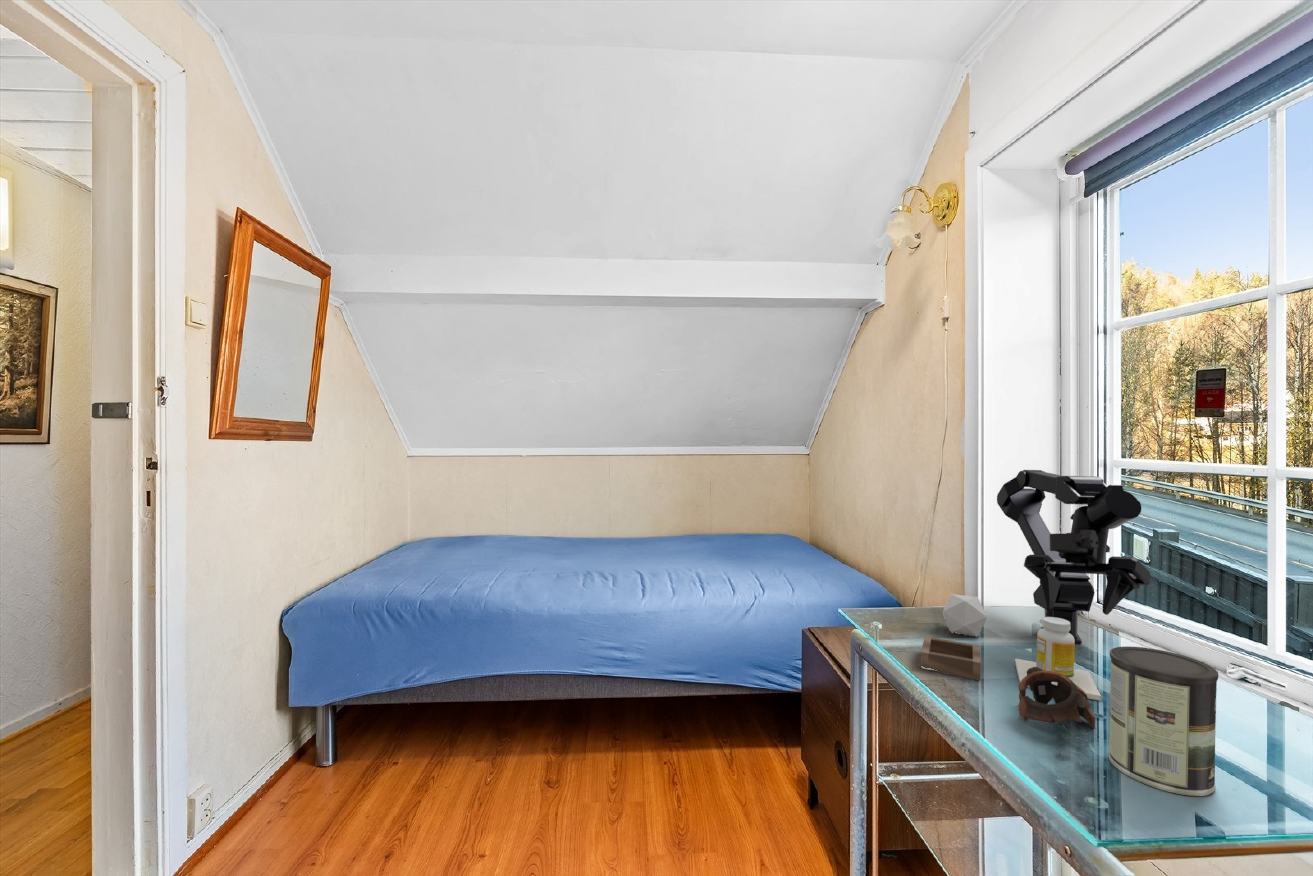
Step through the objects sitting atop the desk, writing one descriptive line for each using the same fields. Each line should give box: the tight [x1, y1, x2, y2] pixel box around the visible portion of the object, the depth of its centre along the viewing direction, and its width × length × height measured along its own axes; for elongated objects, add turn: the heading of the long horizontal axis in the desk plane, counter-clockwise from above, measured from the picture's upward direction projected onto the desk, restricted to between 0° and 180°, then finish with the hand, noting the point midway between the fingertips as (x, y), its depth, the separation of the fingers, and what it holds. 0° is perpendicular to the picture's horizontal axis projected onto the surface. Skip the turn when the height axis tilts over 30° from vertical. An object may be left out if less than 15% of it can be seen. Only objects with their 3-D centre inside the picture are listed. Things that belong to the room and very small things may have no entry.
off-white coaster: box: [1014, 658, 1102, 702], centre depth 99 cm, size 11×11×1 cm
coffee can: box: [1108, 646, 1219, 797], centre depth 72 cm, size 10×10×14 cm
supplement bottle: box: [1035, 616, 1076, 680], centre depth 99 cm, size 5×5×10 cm
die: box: [942, 593, 988, 638], centre depth 123 cm, size 8×9×10 cm
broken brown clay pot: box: [1017, 667, 1096, 729], centre depth 86 cm, size 12×10×8 cm
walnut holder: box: [920, 635, 982, 681], centre depth 105 cm, size 9×9×3 cm
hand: (1076, 610), depth 105 cm, fingers open, 9 cm apart
